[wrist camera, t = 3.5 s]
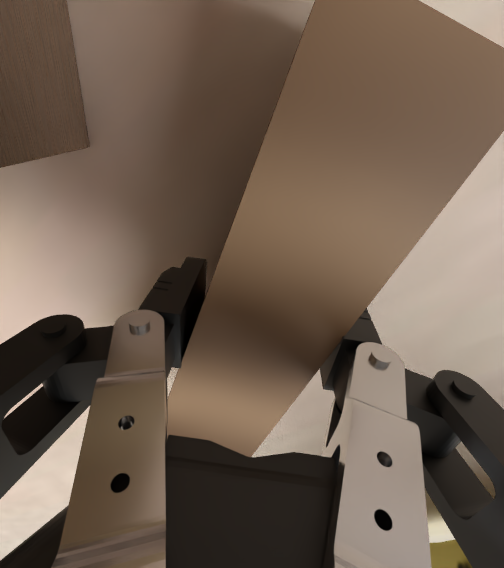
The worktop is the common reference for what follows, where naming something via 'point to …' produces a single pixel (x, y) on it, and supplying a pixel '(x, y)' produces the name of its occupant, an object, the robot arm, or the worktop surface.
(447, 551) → the toy
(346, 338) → the robot arm
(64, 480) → the worktop surface
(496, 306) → the worktop surface
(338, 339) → the rail
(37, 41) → the bracket
